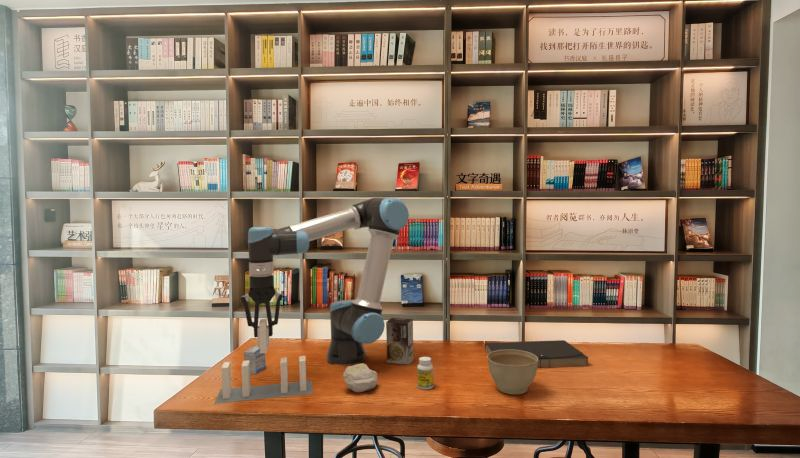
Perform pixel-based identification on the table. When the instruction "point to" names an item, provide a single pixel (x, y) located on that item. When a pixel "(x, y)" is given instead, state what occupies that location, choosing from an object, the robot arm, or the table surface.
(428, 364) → the supplement bottle
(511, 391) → the planter bowl
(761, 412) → the table surface
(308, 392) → the mat
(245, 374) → the domino
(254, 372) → the medicine box
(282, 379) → the domino
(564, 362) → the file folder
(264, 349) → the domino
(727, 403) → the table surface
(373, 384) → the fossil replica
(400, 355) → the coffee box
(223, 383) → the domino
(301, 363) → the domino
